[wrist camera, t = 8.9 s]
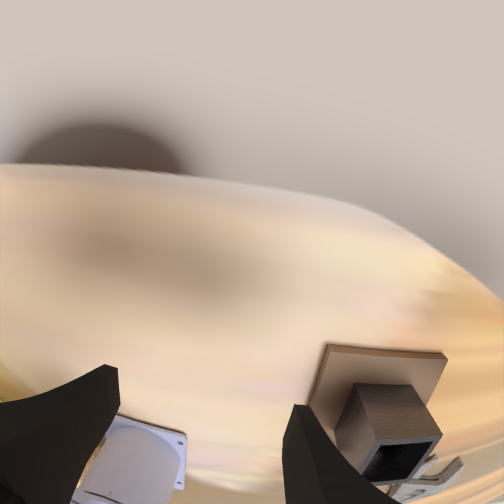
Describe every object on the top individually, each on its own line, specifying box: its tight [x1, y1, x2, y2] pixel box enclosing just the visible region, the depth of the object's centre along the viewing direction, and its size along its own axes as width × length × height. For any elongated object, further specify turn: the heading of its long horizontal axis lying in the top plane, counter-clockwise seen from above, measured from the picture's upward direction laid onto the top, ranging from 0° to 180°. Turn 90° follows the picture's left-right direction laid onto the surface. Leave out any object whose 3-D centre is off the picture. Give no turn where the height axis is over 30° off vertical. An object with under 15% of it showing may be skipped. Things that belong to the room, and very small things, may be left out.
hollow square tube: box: [334, 383, 443, 486], centre depth 17 cm, size 5×5×6 cm
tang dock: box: [308, 344, 448, 449], centre depth 20 cm, size 10×10×4 cm
